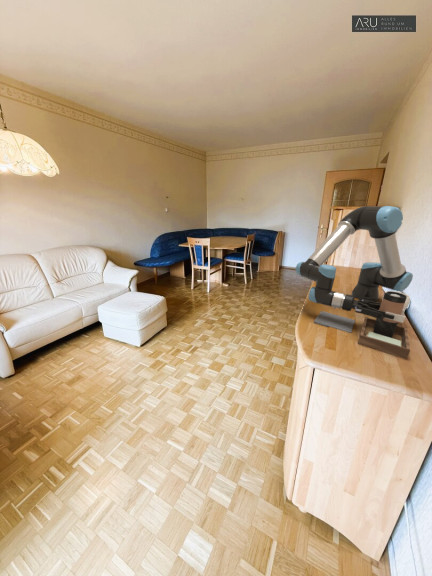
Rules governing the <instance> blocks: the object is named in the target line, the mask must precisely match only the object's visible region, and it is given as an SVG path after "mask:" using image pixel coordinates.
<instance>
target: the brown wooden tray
mask: <svg viewBox="0 0 432 576" xmlns="http://www.w3.org/2000/svg"><path fill="white" fill-rule="evenodd" d="M362 322H363V323H362V327H361V330H360V334H359V338H358V341H357V344H358V345H360V346H362V347H363V346H364V347H367V348H370V349H373V350H377V351H380V352H383V353H386V354H389V355H392V356H395V357H398V358H401V359H404V360H408V357H409V354H410V352H411V347H410V339H409V333H408V328H407V327H405V326H403V325H398V324H397V327H396V329H395V332H394V334H393V335H397V336H401V346H398V345H395V344H391V343H388V342H385V341H381V340H378V339H375V338H371V337H368V336H366V335H365V330H366V327H369V328H372V329H374V326H375V322H376V319H374V318H371V317H367V316H365V317H364V320H363V321H362Z"/></svg>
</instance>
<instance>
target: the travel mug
mask: <svg viewBox="0 0 432 576" xmlns="http://www.w3.org/2000/svg"><path fill="white" fill-rule="evenodd" d="M387 291H388V292H386V291H385V292H386V293H385V292H384V294H383V296H384V297H383V296H382V298H383V300H382V299H381V302H380V303H381V306H380V309H379V310H380V311H383V312H390V313H394V314H398V315H401V313H402V310H403V307H404V304H405V301H406V298H407V296H405V295H403V294H401V293H402V292H401V293H397V292H398V291H396V292H390V291H391V290H387ZM375 320H376V322H375V326H374V328H373V330H372V332H373V333H376V334H380V335H383V336H386V337H390V338H393V337H394V335H395V334H394V332H395V329H396V327H397V325H398V323H399V322H398V321H394V320H390V319H386V318H384V319H383V320H381V319H378V318H376V319H375Z"/></svg>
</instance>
